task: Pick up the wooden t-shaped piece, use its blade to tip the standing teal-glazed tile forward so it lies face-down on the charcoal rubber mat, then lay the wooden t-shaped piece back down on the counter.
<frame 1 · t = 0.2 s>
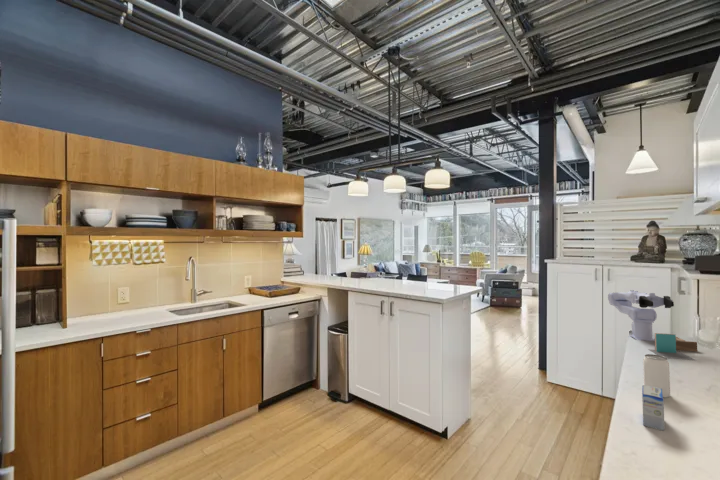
hand: (662, 303, 157), 21 cm above the countertop, tool horizontal, fingers open, 7 cm apart
mat: (670, 355, 149), on the countertop
can: (657, 394, 112), on the countertop
medicine box: (653, 423, 94), on the countertop
wooden t-shaped piece: (675, 347, 161), on the countertop
tile: (665, 351, 152), resting on mat
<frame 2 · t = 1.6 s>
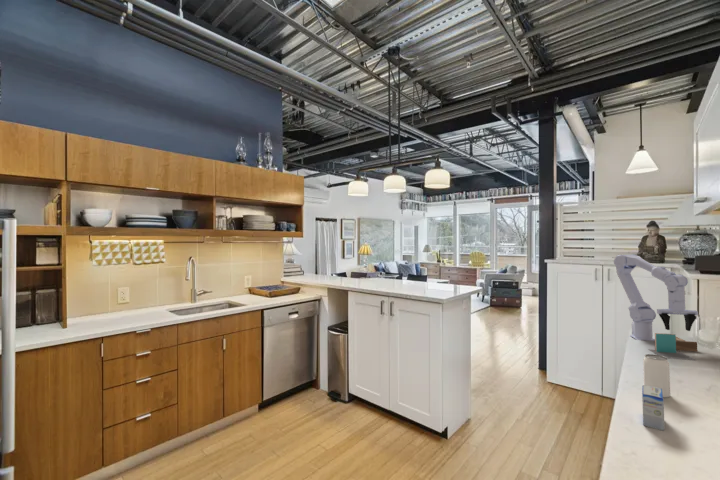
hand: (677, 330, 159), 8 cm above the countertop, tool pointing down, fingers open, 7 cm apart
nothing on the countertop moved.
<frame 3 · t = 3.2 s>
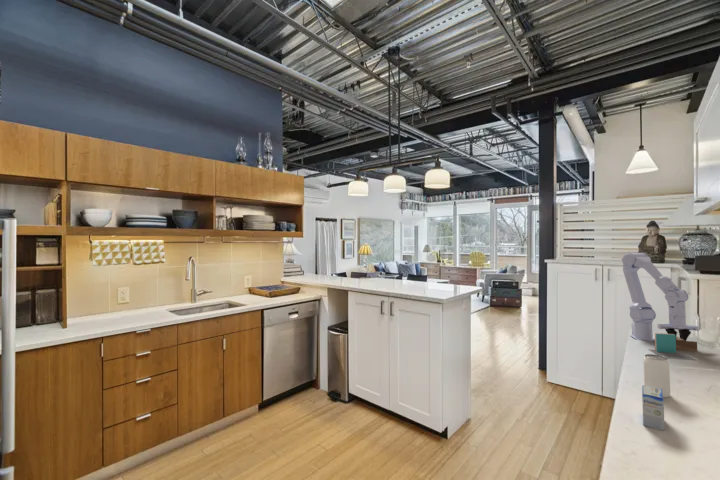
hand: (678, 345, 159), 1 cm above the countertop, tool pointing down, fingers closed on wooden t-shaped piece, 2 cm apart
wooden t-shaped piece: (675, 347, 161), on the countertop, touching gripper
everything else where it was.
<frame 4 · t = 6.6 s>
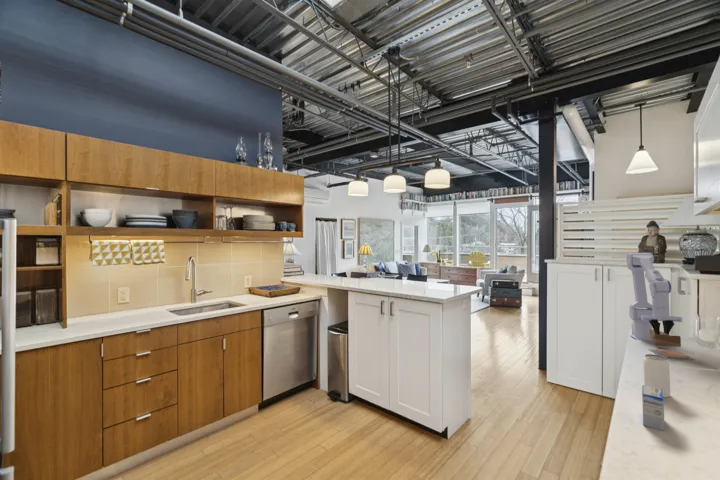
hand: (661, 336, 155), 6 cm above the countertop, tool pointing down, fingers closed on wooden t-shaped piece, 2 cm apart
wooden t-shaped piece: (659, 342, 157), point 4 cm above the countertop, touching gripper
tile: (666, 351, 151), point 1 cm above the countertop, tilted 90°, touching mat
everything else where it was.
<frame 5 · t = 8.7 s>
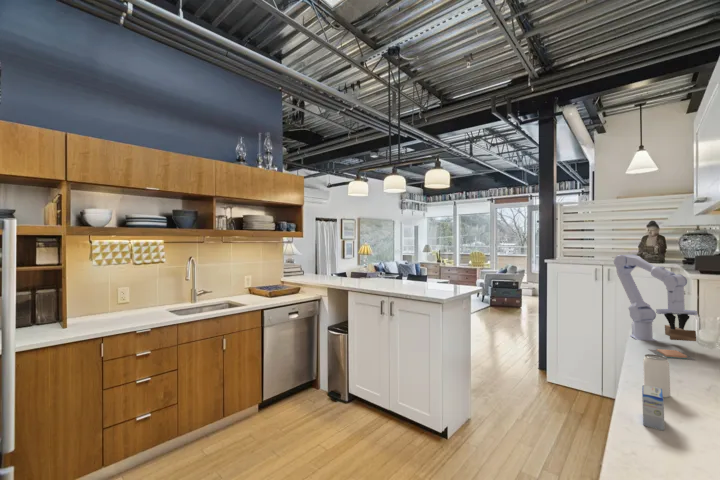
hand: (677, 330, 159), 8 cm above the countertop, tool pointing down, fingers closed on wooden t-shaped piece, 2 cm apart
wooden t-shaped piece: (675, 337, 161), point 5 cm above the countertop, touching gripper
everything else where it was.
when the fingers open (2 cm above the countertop, at t = 10.1 s): wooden t-shaped piece stays where it is, on the countertop.
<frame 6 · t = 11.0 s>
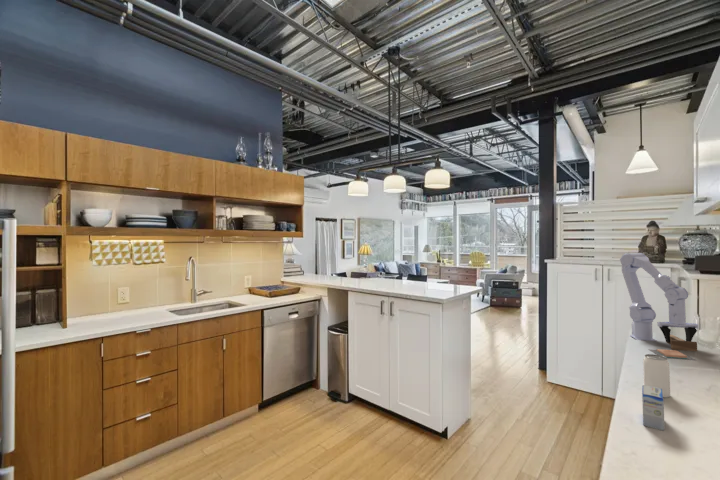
hand: (678, 343, 159), 2 cm above the countertop, tool pointing down, fingers open, 7 cm apart
wooden t-shaped piece: (675, 347, 161), on the countertop
everything else where it was.
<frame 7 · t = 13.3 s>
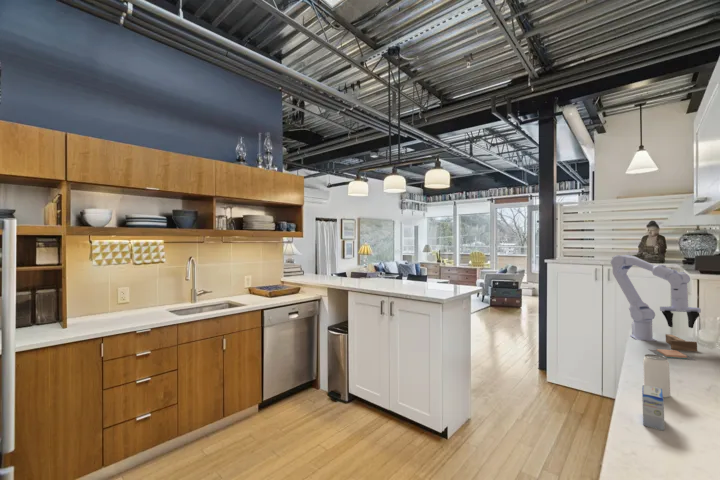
hand: (680, 327, 160), 9 cm above the countertop, tool pointing down, fingers open, 7 cm apart
nothing on the countertop moved.
at the end: tile tilted 90°; tile inside the target area on the mat (2.8 cm from its centre), point 1.1 cm above the mat's base; wooden t-shaped piece 0.1 cm from the target spot, on the countertop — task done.
